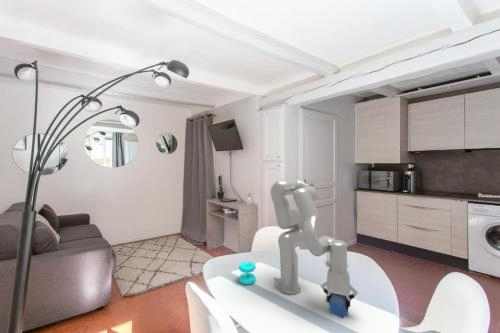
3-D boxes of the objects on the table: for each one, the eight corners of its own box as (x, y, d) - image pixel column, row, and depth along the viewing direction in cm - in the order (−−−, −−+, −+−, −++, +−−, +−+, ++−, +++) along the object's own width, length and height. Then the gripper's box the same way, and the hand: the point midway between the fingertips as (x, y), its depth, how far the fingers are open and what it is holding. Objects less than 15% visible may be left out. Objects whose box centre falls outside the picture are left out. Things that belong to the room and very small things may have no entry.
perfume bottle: (334, 306, 119) (334, 282, 118) (347, 311, 115) (347, 286, 114) (329, 313, 114) (329, 287, 114) (343, 318, 110) (343, 291, 110)
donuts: (240, 260, 151) (256, 261, 149) (241, 276, 151) (257, 277, 149) (236, 267, 141) (253, 268, 139) (237, 284, 141) (254, 286, 139)
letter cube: (326, 301, 123) (326, 291, 123) (328, 296, 127) (328, 286, 127) (337, 304, 121) (337, 293, 121) (338, 298, 125) (338, 289, 125)
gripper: (317, 267, 114) (318, 305, 115) (358, 274, 107) (358, 315, 107) (320, 261, 121) (321, 297, 121) (359, 267, 113) (359, 305, 114)
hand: (338, 305), depth 114 cm, fingers closed on perfume bottle, 7 cm apart
